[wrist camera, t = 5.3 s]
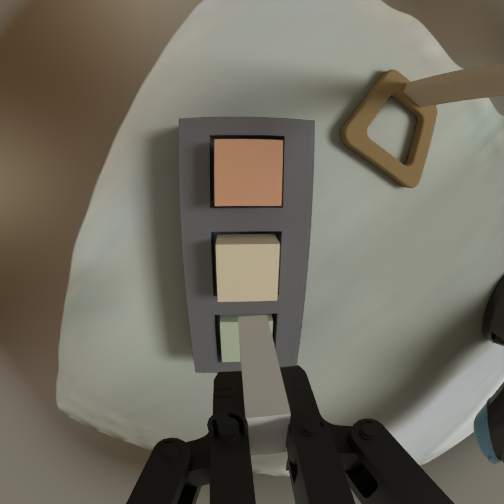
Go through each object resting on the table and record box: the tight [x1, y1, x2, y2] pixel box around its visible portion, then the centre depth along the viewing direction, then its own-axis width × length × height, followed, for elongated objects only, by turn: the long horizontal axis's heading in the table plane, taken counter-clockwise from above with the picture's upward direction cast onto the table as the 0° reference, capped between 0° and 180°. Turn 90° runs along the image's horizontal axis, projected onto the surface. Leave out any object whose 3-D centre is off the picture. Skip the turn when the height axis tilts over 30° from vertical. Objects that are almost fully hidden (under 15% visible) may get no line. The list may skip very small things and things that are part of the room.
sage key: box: [220, 314, 273, 362], centre depth 28 cm, size 5×5×3 cm
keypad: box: [179, 117, 315, 373], centre depth 27 cm, size 25×11×4 cm, turn 179°
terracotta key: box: [214, 139, 283, 206], centre depth 22 cm, size 5×5×3 cm
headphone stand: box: [340, 63, 504, 188], centre depth 15 cm, size 10×11×22 cm
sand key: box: [216, 234, 280, 302], centre depth 24 cm, size 5×5×3 cm
